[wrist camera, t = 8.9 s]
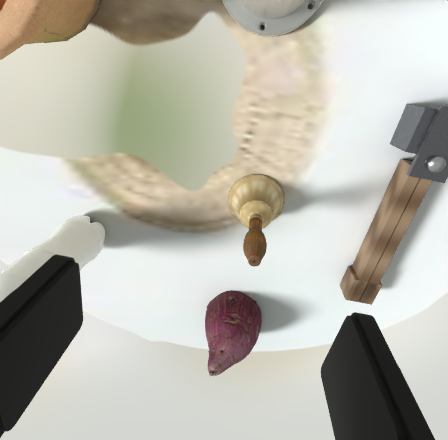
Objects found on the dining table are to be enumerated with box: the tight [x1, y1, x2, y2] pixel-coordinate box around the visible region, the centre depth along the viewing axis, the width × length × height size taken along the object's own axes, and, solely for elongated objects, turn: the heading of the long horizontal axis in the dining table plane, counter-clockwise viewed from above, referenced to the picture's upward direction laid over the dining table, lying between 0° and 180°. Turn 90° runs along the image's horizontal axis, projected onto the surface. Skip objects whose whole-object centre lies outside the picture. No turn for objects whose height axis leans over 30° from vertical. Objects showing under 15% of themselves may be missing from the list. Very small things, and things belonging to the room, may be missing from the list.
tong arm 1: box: [359, 161, 432, 305], centre depth 42 cm, size 22×2×4 cm, turn 171°
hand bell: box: [228, 174, 284, 266], centre depth 37 cm, size 8×8×16 cm
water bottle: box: [0, 216, 105, 302], centre depth 38 cm, size 7×7×25 cm
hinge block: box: [390, 104, 448, 183], centre depth 35 cm, size 8×7×6 cm
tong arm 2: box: [340, 159, 420, 302], centre depth 42 cm, size 22×2×4 cm, turn 171°
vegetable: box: [205, 291, 261, 376], centre depth 49 cm, size 10×10×15 cm
